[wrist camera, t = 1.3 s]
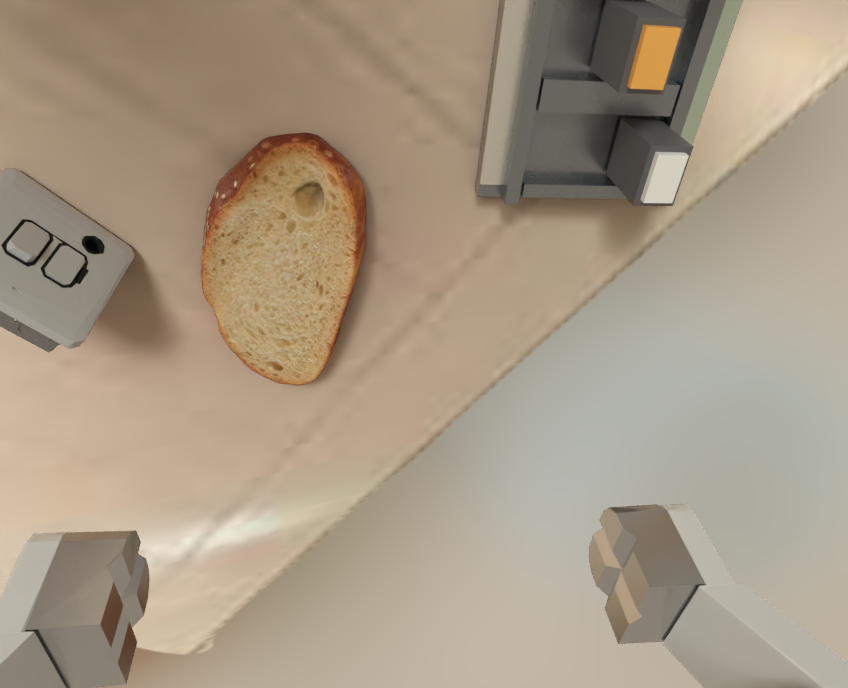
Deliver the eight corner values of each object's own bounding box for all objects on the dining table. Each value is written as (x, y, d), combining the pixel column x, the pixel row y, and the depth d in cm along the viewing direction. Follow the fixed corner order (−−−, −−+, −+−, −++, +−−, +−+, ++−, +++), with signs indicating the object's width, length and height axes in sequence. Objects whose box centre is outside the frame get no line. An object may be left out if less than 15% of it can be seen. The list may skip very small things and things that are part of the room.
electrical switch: (140, 249, 45) (96, 333, 38) (102, 288, 47) (54, 373, 40) (11, 160, 40) (-66, 237, 33) (-25, 207, 42) (-105, 290, 35)
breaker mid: (605, -2, 37) (642, 17, 33) (649, 1, 37) (690, 20, 33) (589, 69, 39) (621, 95, 35) (630, 71, 40) (667, 97, 36)
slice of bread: (288, 388, 56) (286, 418, 53) (119, 254, 45) (105, 281, 42) (452, 281, 51) (460, 307, 48) (304, 103, 40) (302, 122, 38)
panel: (528, -212, 32) (540, -215, 30) (791, -182, 34) (818, -183, 32) (474, 189, 45) (481, 203, 43) (664, 192, 47) (678, 206, 46)
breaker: (621, 117, 42) (654, 148, 37) (659, 119, 42) (697, 149, 38) (605, 174, 44) (635, 208, 40) (642, 174, 45) (675, 209, 40)
